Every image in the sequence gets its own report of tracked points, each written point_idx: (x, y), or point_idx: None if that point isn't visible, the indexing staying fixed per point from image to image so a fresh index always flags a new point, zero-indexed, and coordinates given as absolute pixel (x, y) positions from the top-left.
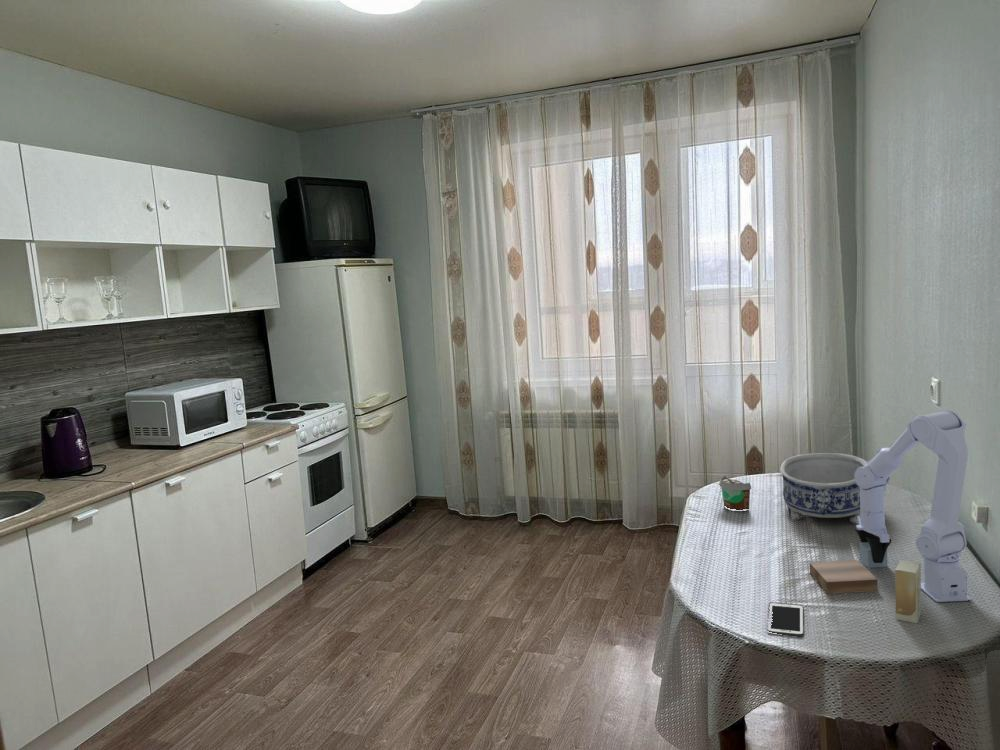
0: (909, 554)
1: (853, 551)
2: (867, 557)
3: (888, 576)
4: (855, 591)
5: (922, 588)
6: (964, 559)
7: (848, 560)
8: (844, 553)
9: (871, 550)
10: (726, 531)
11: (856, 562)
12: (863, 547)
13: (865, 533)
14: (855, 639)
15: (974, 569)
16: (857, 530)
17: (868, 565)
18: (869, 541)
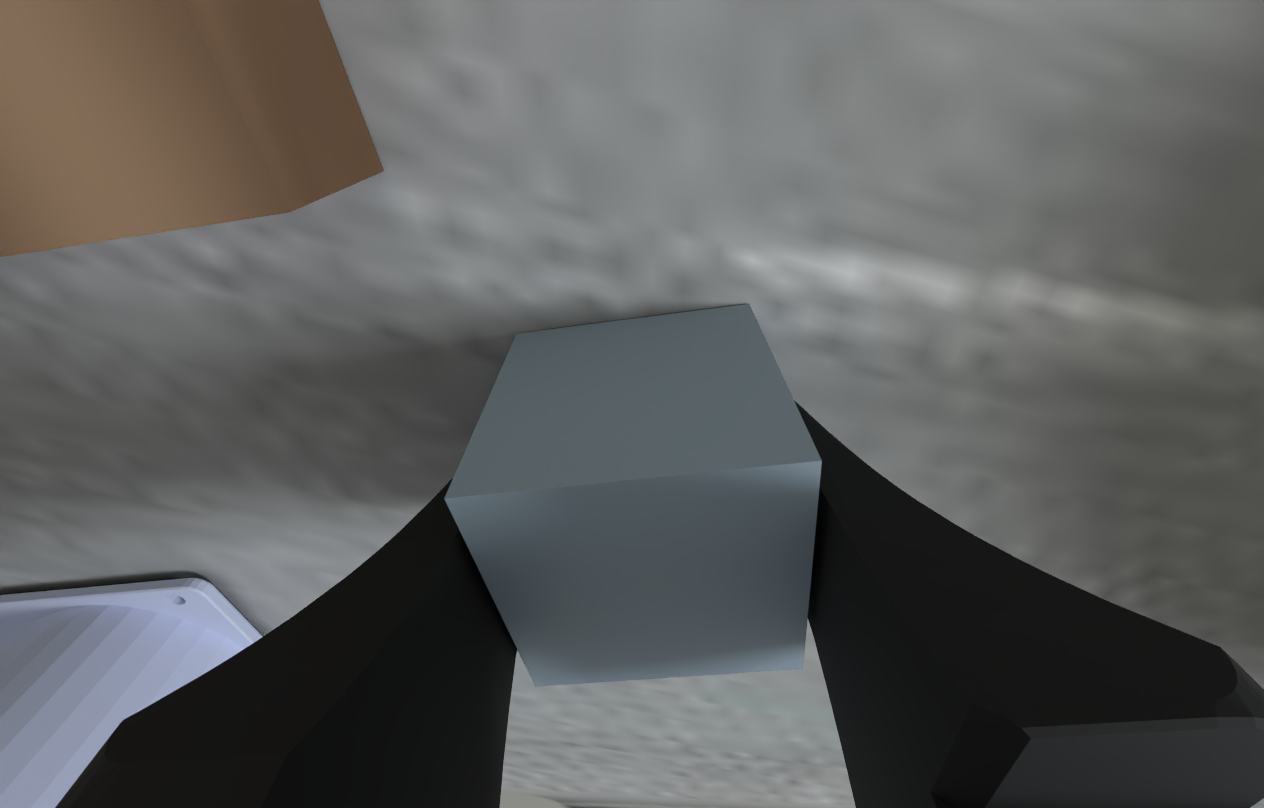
0: (806, 657)
1: (1036, 302)
2: (487, 405)
3: (324, 452)
4: None
5: (101, 596)
6: (690, 790)
7: (183, 17)
8: (1025, 161)
9: (441, 537)
10: None
11: (145, 176)
12: (623, 462)
13: (898, 731)
14: None
15: (563, 788)
16: (1033, 739)
17: (512, 353)
18: (112, 754)
